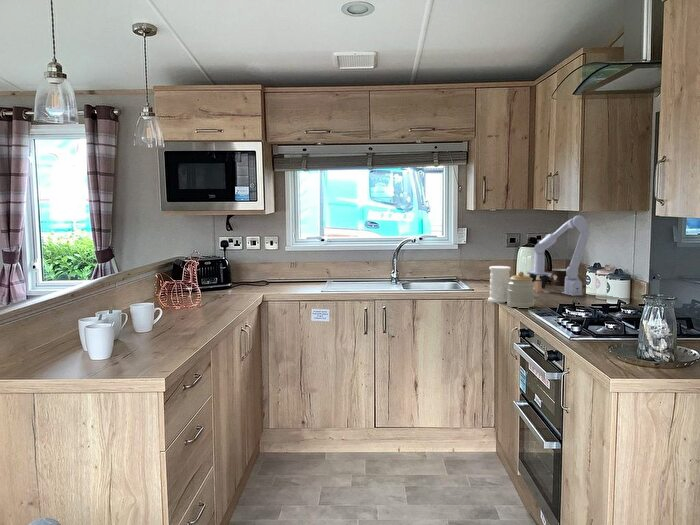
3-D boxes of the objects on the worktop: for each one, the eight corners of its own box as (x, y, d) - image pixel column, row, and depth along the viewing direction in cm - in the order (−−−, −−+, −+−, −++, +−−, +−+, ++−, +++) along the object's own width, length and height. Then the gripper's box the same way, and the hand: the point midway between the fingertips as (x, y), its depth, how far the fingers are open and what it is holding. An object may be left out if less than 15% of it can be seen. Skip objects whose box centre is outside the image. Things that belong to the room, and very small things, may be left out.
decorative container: (507, 298, 294) (508, 265, 292) (513, 302, 282) (513, 268, 280) (485, 298, 294) (486, 265, 292) (490, 302, 283) (491, 268, 281)
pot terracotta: (545, 291, 312) (546, 281, 312) (540, 292, 309) (540, 282, 308) (537, 290, 316) (537, 280, 316) (531, 291, 313) (531, 281, 312)
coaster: (551, 293, 308) (551, 292, 308) (534, 294, 307) (534, 293, 307) (542, 290, 318) (542, 289, 318) (526, 291, 317) (526, 290, 316)
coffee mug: (568, 286, 331) (569, 270, 330) (554, 287, 332) (555, 270, 331) (561, 284, 343) (562, 268, 342) (548, 284, 343) (548, 268, 342)
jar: (507, 308, 267) (508, 273, 265) (505, 303, 280) (506, 269, 278) (535, 309, 265) (536, 273, 263) (532, 304, 277) (533, 270, 275)
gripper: (554, 264, 308) (554, 288, 309) (531, 262, 319) (531, 285, 320) (547, 265, 303) (547, 289, 305) (525, 263, 314) (524, 286, 316)
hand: (538, 287), depth 312 cm, fingers closed on pot terracotta, 5 cm apart
